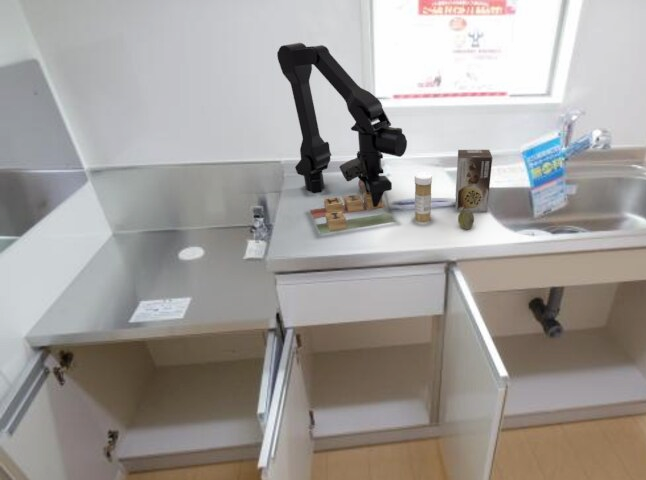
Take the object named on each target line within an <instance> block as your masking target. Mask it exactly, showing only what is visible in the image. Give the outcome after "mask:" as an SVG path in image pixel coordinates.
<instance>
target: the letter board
mask: <svg viewBox="0 0 646 480" xmlns="http://www.w3.org/2000/svg"><path fill="white" fill-rule="evenodd" d="M378 209H379V210H380V209H386V206H385V205H384V204H383V207H377V208H370V209H368V208H367V207H366V205H365V204H364V201H363V210H359V211H352V212H348V211H347V209H346V207H345V205H344V204H343V210H344V213H343V215H346V214H347V215H348V214H353V213H359V212H367V211H372V210H373V211H374V210H378ZM309 213H310V214H311V217H312V219H313V220H314V219H319V218H326V216H325V214H327V212H326V210H325V207H322V208H315V209H309ZM395 222H396V223H397V220H396V219H395V218H394V217H393V215H392V214H391V213H390V212H387V213H380V214H374V215H367V216H363V217H355V218H349V219H346V226H347V228H346V229H340V230H334V231H330V230H329V228H328V226H327V223H326V222H323V223H317V224H315V226H316V228H317V231H318V232H319V235H324V234H330V233H336V232H341V231H342V232H343V231H347V230H355V229H359V228H367V227H373V226H378V225H383V224H384V225H385V224H390V223H395Z"/></svg>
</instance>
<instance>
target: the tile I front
mask: <svg viewBox="0 0 646 480" xmlns="http://www.w3.org/2000/svg"><path fill="white" fill-rule="evenodd" d="M325 216H326V217H325V223H327V226H328V228H329V230H330V231H334V230H340V229H346V228H347V226H346V220H347V218H346V216H345V214H343V213H342V211H340V212H334V213H327V214H325Z"/></svg>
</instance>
